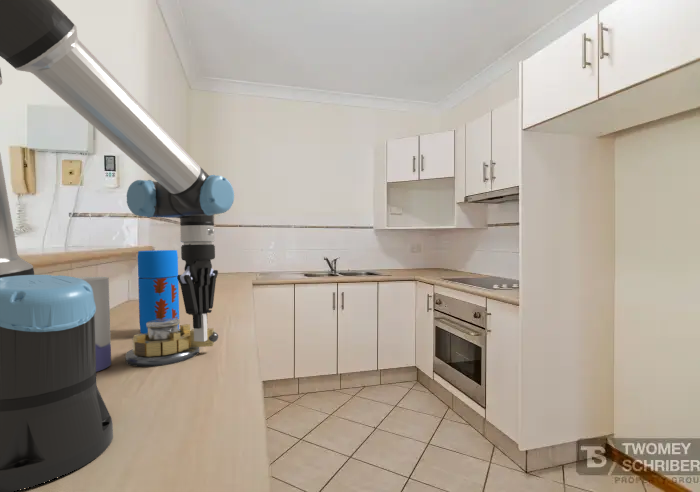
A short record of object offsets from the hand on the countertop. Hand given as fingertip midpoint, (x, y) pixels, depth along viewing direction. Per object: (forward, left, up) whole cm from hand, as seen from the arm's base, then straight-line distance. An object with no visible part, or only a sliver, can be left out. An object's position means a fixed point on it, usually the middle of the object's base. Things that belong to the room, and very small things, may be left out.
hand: (200, 340), depth 88 cm
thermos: (+13, +29, -4) cm, 32 cm away
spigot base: (-3, +9, -4) cm, 10 cm away
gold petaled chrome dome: (-1, +6, -2) cm, 7 cm away
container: (-16, +18, -4) cm, 24 cm away
